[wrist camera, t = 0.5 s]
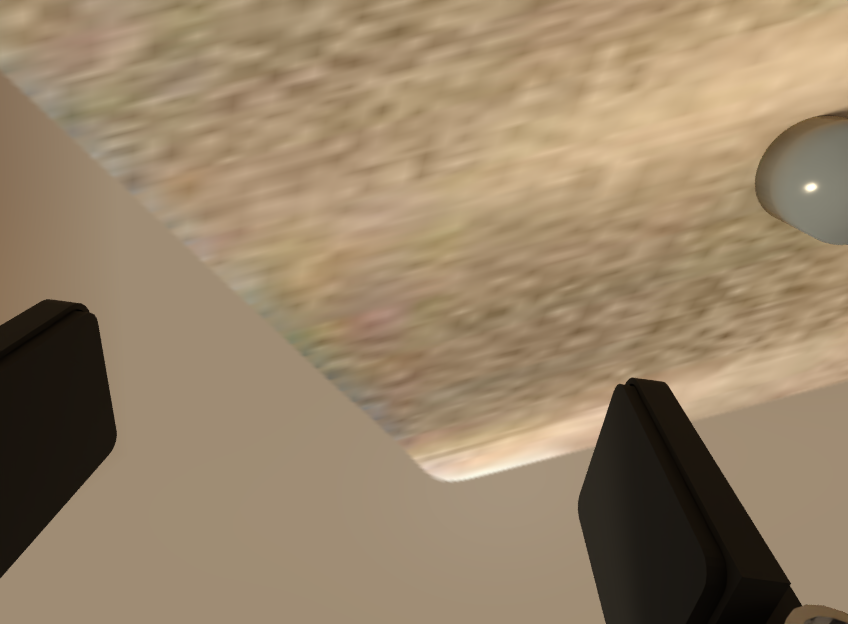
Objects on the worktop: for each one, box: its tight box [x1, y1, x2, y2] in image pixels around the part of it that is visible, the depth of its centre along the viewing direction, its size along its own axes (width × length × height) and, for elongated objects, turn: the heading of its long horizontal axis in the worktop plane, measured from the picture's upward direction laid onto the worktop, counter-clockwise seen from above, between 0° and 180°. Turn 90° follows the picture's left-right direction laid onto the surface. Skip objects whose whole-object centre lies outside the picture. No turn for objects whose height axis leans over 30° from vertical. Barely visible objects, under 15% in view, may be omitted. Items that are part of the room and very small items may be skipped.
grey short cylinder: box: [755, 116, 848, 245], centre depth 33 cm, size 7×7×5 cm
